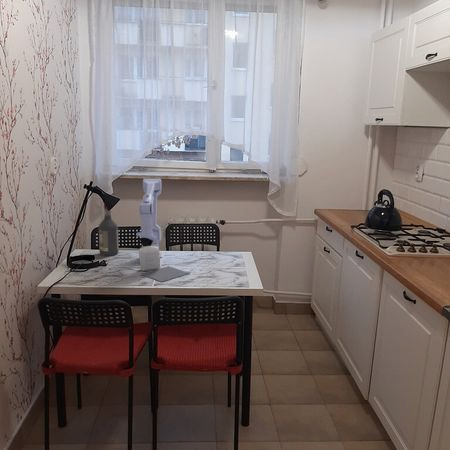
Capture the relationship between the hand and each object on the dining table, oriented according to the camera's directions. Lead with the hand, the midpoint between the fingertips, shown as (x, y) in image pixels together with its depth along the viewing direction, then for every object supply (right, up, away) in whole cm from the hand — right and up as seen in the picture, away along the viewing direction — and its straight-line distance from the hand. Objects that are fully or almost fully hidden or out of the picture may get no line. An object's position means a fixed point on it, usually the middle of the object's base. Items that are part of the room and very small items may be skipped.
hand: (147, 252), depth 227 cm
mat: (+10, -10, -7) cm, 16 cm away
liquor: (-26, -3, +26) cm, 37 cm away
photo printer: (+2, -8, 0) cm, 8 cm away
